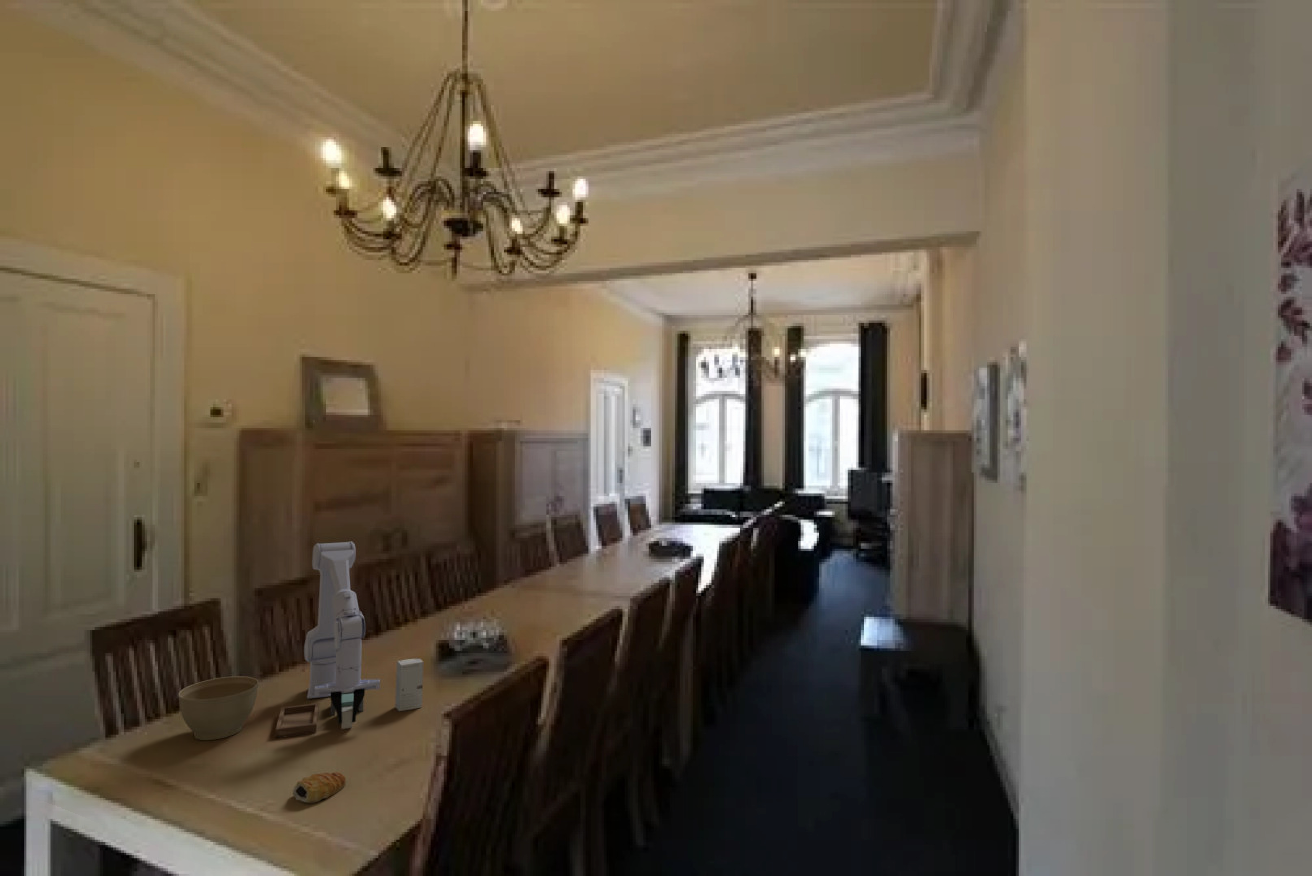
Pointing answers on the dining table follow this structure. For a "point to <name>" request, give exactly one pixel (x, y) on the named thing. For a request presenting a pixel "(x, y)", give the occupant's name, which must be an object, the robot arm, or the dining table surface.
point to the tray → (297, 720)
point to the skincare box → (409, 684)
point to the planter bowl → (218, 706)
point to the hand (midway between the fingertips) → (346, 721)
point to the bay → (343, 694)
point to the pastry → (318, 787)
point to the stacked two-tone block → (347, 710)
